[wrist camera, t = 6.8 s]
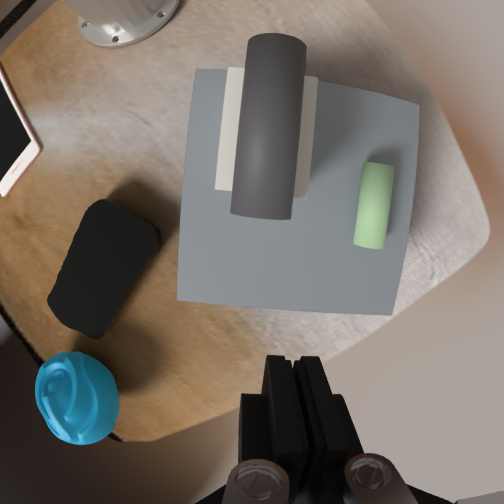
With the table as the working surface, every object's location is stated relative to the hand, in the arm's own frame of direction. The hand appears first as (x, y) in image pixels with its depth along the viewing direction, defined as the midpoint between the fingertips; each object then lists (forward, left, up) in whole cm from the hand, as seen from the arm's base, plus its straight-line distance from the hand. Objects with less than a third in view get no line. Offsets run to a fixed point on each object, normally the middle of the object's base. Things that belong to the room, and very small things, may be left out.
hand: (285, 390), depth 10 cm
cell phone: (-12, -36, -24) cm, 45 cm away
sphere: (+21, -21, -24) cm, 38 cm away
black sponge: (+5, -17, -24) cm, 30 cm away
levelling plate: (-5, +2, -18) cm, 18 cm away
